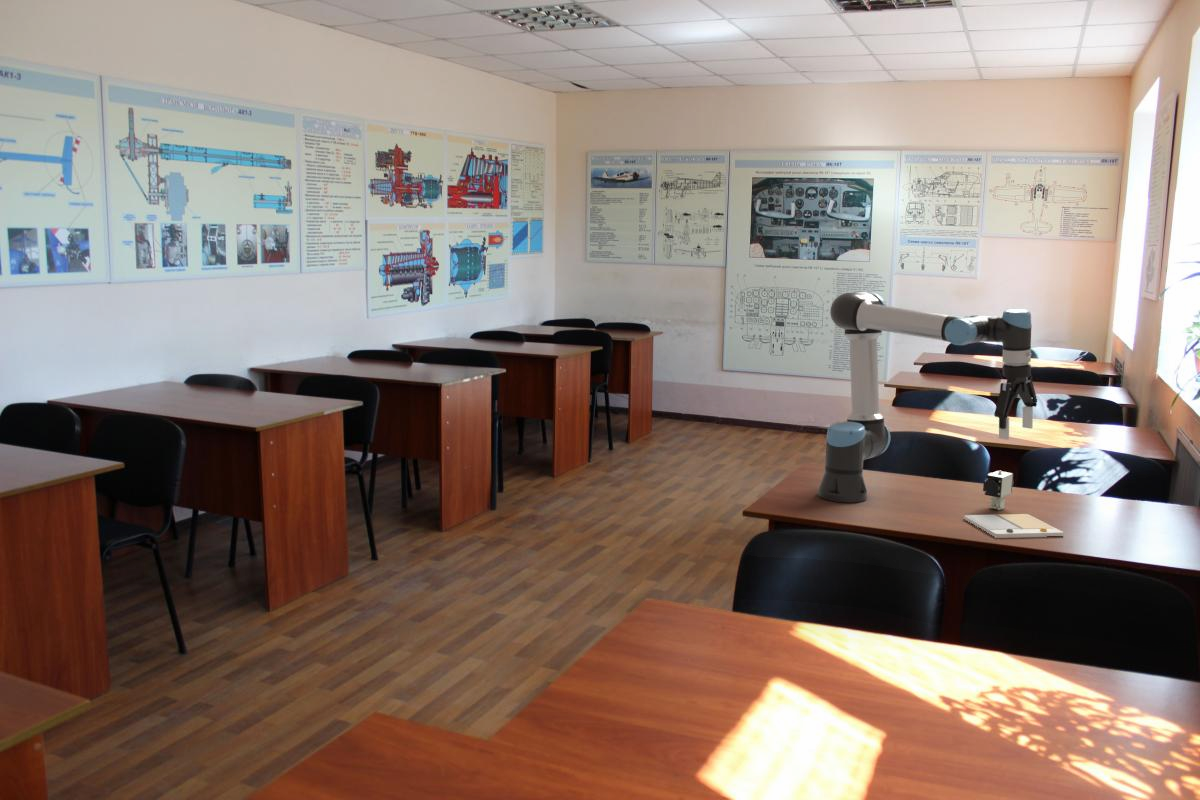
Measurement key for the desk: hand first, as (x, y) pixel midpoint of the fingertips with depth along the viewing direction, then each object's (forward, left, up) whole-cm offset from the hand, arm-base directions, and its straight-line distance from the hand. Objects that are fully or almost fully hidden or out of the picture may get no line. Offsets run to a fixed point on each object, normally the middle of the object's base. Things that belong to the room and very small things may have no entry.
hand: (1015, 433), depth 281 cm
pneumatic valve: (-8, 0, -25) cm, 27 cm away
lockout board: (+12, -6, -25) cm, 29 cm away
